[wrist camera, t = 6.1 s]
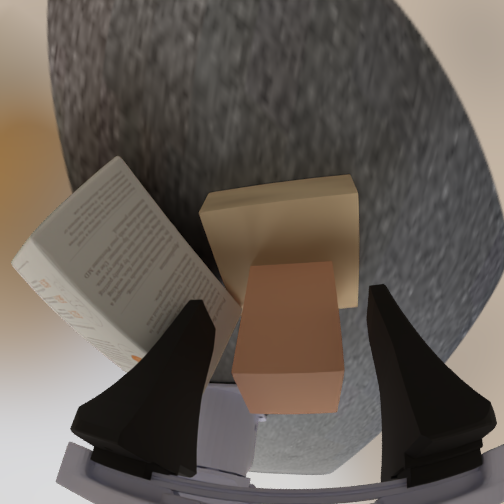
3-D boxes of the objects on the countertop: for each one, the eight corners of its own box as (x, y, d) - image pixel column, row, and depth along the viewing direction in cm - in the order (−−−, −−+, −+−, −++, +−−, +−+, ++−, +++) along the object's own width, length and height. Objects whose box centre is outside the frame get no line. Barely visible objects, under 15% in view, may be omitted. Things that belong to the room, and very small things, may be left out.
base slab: (352, 282, 17) (357, 306, 16) (240, 292, 19) (236, 316, 17) (350, 174, 13) (358, 192, 12) (208, 192, 15) (198, 212, 13)
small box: (65, 202, 16) (162, 310, 21) (7, 263, 13) (125, 373, 18) (123, 150, 11) (247, 309, 17) (28, 237, 8) (205, 398, 13)
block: (331, 315, 16) (336, 412, 12) (261, 318, 17) (250, 413, 13) (332, 260, 14) (344, 370, 9) (250, 266, 15) (231, 373, 10)
